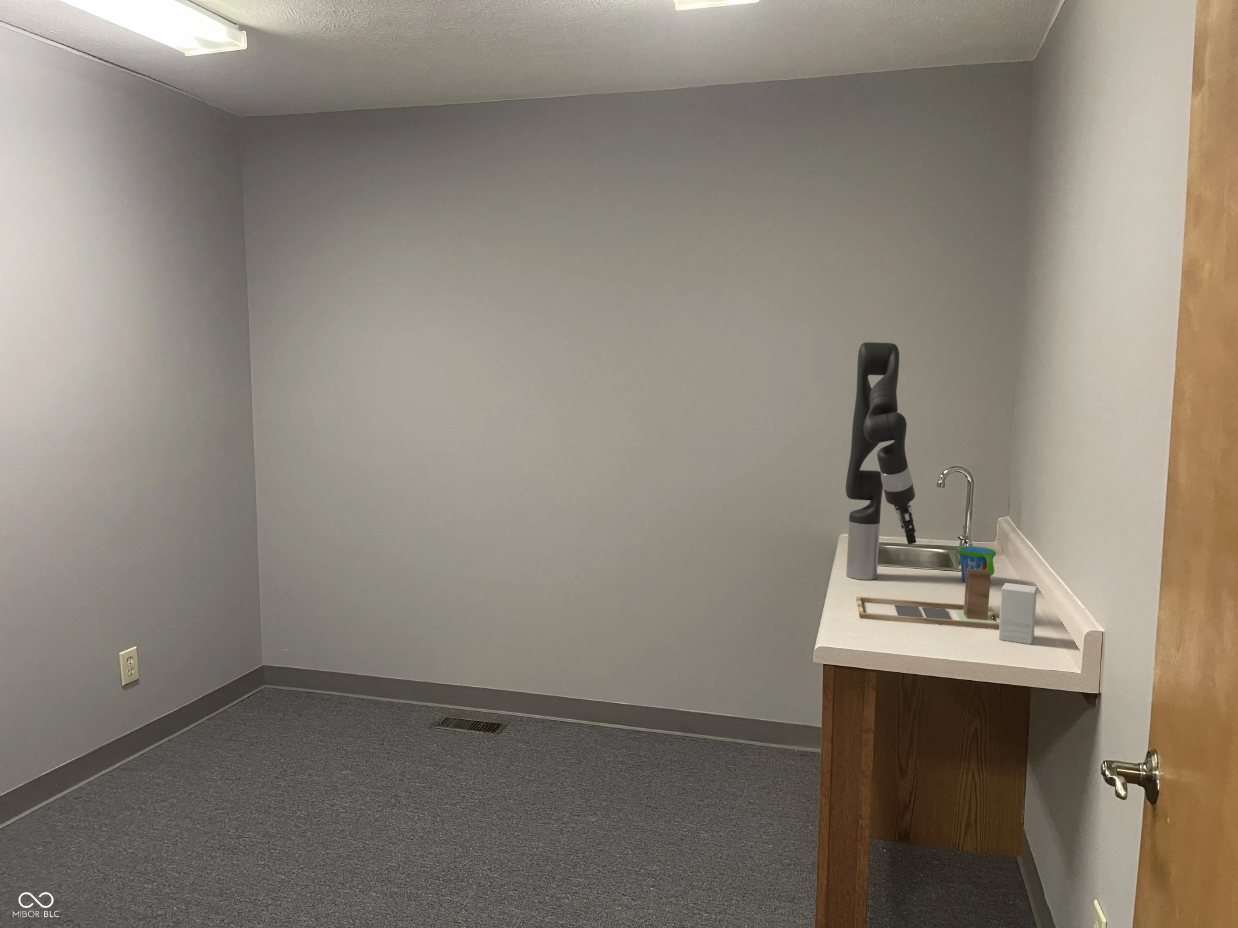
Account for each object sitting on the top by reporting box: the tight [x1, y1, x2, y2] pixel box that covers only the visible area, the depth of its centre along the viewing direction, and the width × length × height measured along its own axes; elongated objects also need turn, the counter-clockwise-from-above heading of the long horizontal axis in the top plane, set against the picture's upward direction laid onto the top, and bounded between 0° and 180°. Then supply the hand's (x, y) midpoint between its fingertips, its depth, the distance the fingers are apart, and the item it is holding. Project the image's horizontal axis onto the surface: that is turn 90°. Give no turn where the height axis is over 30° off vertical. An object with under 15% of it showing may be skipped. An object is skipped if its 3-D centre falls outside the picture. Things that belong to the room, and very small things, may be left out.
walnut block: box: [963, 569, 992, 620], centre depth 225 cm, size 5×5×12 cm
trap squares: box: [894, 605, 953, 620], centre depth 229 cm, size 12×13×1 cm
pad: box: [953, 609, 996, 623], centre depth 226 cm, size 12×8×1 cm
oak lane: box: [855, 596, 1000, 630], centre depth 228 cm, size 18×35×1 cm, turn 77°
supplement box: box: [998, 582, 1038, 645], centre depth 208 cm, size 7×7×13 cm
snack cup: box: [957, 545, 997, 581], centre depth 267 cm, size 16×10×10 cm
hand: (908, 535), depth 235 cm, fingers open, 8 cm apart
